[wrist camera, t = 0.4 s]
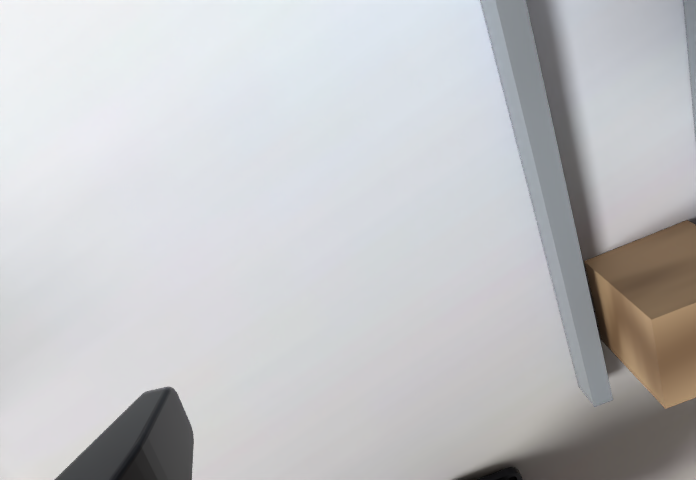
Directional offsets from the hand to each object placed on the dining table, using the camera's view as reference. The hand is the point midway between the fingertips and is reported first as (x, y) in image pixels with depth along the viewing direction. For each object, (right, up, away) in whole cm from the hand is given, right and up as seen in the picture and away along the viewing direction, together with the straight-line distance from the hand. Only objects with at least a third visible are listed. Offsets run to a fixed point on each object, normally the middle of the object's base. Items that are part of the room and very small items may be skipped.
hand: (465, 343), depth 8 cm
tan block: (+13, -1, +17) cm, 21 cm away
